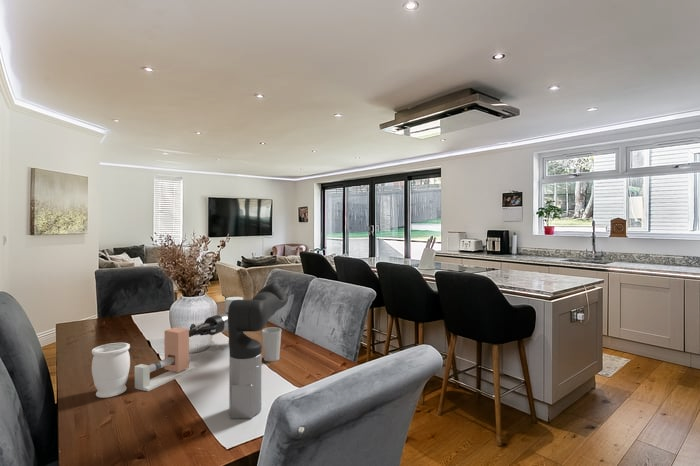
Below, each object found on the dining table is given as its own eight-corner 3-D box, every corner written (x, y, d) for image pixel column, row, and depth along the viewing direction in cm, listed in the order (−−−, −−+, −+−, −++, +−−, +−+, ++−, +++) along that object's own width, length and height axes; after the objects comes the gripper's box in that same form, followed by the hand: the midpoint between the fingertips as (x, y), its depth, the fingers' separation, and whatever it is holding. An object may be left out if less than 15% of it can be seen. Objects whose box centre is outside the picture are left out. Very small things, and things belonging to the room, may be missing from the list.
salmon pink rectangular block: (175, 364, 142) (175, 327, 141) (188, 367, 139) (188, 329, 139) (164, 369, 137) (164, 330, 137) (178, 372, 135) (178, 332, 134)
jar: (123, 382, 129) (123, 340, 128) (135, 391, 122) (135, 346, 122) (87, 393, 121) (87, 347, 120) (98, 403, 114) (97, 355, 114)
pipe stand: (184, 366, 144) (184, 347, 144) (196, 368, 142) (196, 349, 142) (134, 388, 124) (134, 366, 124) (147, 391, 122) (147, 369, 122)
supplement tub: (247, 323, 206) (247, 297, 206) (233, 327, 198) (234, 300, 197) (234, 321, 211) (234, 295, 210) (221, 325, 203) (221, 298, 202)
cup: (276, 362, 149) (277, 333, 148) (258, 361, 150) (258, 332, 150) (284, 356, 156) (284, 327, 156) (266, 354, 158) (266, 326, 158)
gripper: (206, 313, 161) (173, 323, 145) (230, 316, 156) (199, 326, 140) (206, 330, 161) (173, 342, 145) (230, 334, 156) (199, 346, 140)
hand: (186, 334), depth 142 cm, fingers closed
